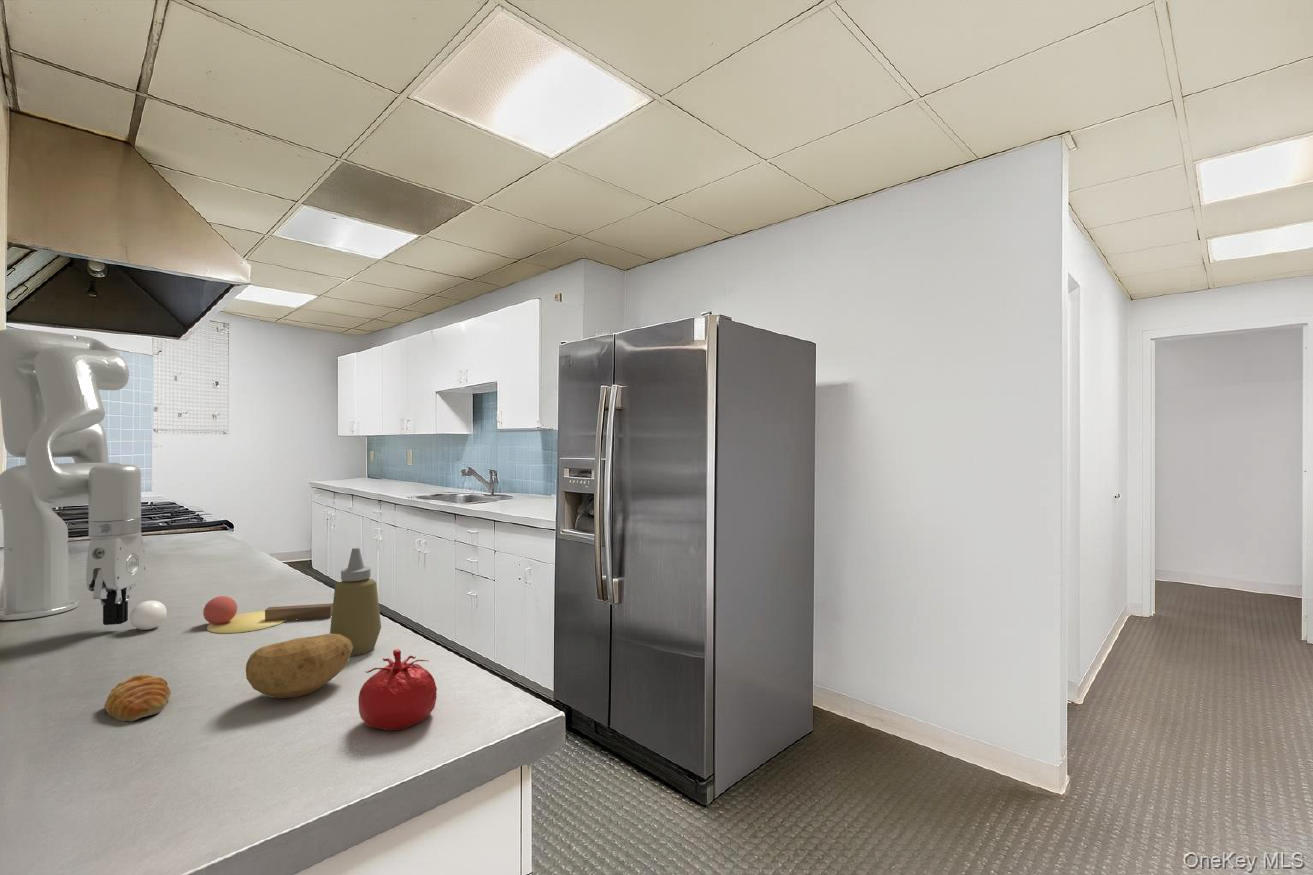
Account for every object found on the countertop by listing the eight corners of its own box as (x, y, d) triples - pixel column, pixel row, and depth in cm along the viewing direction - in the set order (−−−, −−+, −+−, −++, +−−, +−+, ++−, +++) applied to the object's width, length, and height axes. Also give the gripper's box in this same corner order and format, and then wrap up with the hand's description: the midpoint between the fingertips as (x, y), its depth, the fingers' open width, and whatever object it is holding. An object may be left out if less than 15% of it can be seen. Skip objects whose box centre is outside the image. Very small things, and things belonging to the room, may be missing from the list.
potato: (364, 686, 89) (364, 633, 89) (256, 719, 79) (256, 659, 79) (339, 669, 96) (339, 619, 96) (235, 698, 85) (235, 642, 85)
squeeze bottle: (318, 655, 102) (318, 550, 102) (358, 640, 109) (358, 543, 109) (353, 662, 99) (353, 554, 99) (391, 646, 106) (391, 546, 106)
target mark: (193, 625, 118) (193, 624, 118) (269, 608, 130) (269, 607, 130) (227, 638, 110) (227, 637, 110) (304, 618, 122) (304, 617, 122)
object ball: (226, 586, 119) (247, 606, 120) (219, 595, 122) (239, 614, 123) (200, 605, 115) (221, 625, 115) (193, 614, 118) (214, 633, 119)
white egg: (165, 595, 116) (175, 621, 117) (156, 595, 119) (165, 621, 120) (130, 608, 112) (140, 635, 112) (121, 608, 115) (131, 634, 115)
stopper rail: (330, 617, 123) (330, 605, 123) (265, 622, 120) (264, 609, 120) (333, 615, 125) (333, 603, 125) (268, 619, 122) (268, 607, 122)
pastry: (178, 712, 81) (178, 684, 81) (112, 731, 76) (112, 702, 76) (164, 693, 88) (163, 667, 88) (101, 709, 82) (101, 682, 82)
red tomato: (387, 747, 72) (387, 671, 72) (341, 726, 77) (341, 654, 77) (454, 715, 80) (454, 646, 80) (408, 697, 86) (408, 633, 86)
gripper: (113, 533, 108) (113, 634, 108) (160, 522, 123) (160, 610, 123) (63, 535, 106) (63, 637, 106) (117, 523, 121) (117, 613, 121)
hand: (115, 622), depth 115 cm, fingers closed
